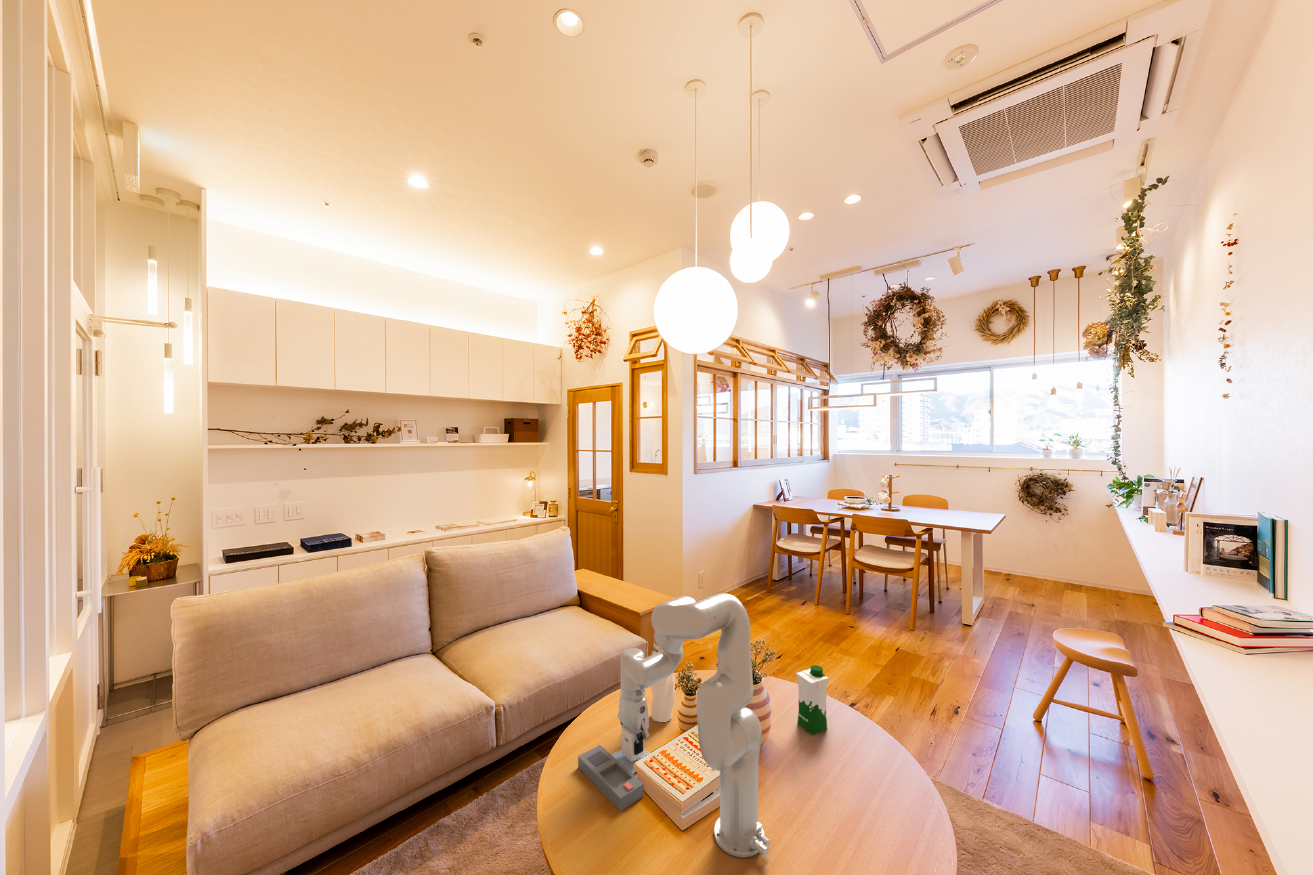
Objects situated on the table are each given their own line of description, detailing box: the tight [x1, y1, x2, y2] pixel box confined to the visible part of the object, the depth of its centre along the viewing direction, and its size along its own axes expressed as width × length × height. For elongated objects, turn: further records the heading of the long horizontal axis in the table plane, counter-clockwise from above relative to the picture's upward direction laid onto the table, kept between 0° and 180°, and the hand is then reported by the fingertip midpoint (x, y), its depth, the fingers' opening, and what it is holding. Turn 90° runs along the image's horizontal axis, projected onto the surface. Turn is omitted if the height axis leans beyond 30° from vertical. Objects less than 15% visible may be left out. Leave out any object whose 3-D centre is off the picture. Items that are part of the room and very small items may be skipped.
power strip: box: [577, 744, 645, 812], centre depth 138 cm, size 22×8×4 cm, turn 41°
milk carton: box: [796, 664, 829, 736], centre depth 163 cm, size 9×9×20 cm
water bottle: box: [650, 641, 676, 722], centre depth 168 cm, size 10×9×28 cm
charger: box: [621, 726, 645, 762], centre depth 147 cm, size 5×5×8 cm
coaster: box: [611, 747, 651, 776], centre depth 147 cm, size 11×11×1 cm
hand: (633, 747), depth 147 cm, fingers closed on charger, 5 cm apart
